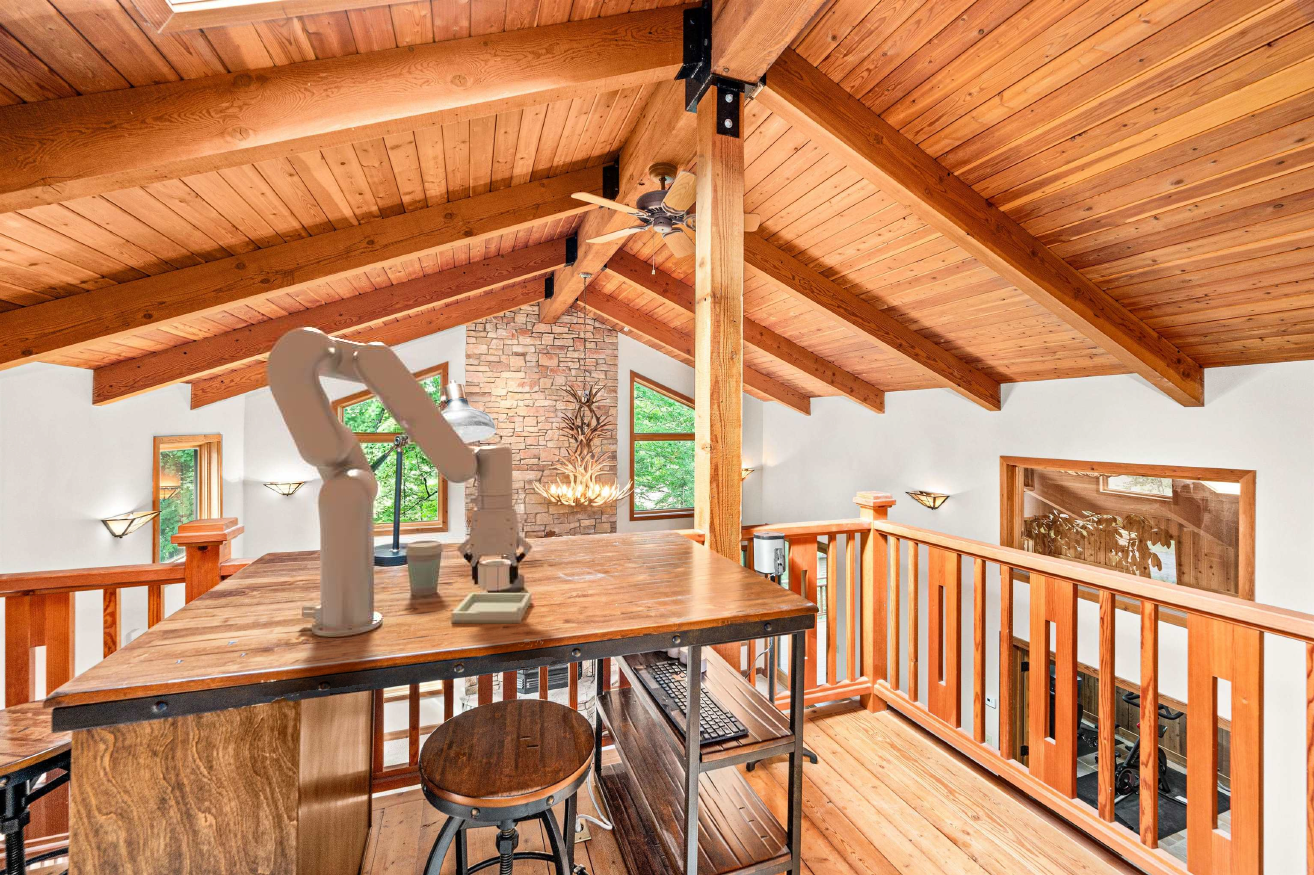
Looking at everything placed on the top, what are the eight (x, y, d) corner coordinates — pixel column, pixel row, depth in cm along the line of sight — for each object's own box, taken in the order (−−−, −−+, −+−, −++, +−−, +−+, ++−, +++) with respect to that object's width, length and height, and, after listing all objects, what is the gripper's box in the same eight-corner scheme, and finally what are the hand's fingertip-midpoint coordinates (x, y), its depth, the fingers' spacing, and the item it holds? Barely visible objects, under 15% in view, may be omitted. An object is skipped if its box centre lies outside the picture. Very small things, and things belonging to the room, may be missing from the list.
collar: (474, 590, 123) (474, 567, 123) (483, 581, 130) (483, 559, 130) (508, 590, 123) (507, 567, 123) (514, 580, 130) (514, 559, 130)
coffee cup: (448, 588, 144) (449, 540, 143) (432, 598, 135) (432, 548, 135) (416, 586, 144) (416, 539, 144) (397, 597, 136) (397, 546, 136)
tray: (451, 622, 119) (451, 612, 119) (470, 601, 133) (470, 592, 133) (519, 623, 120) (519, 613, 120) (531, 601, 134) (531, 592, 134)
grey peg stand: (482, 594, 139) (483, 559, 139) (491, 584, 148) (492, 551, 148) (520, 594, 139) (520, 559, 139) (527, 584, 148) (527, 551, 148)
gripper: (449, 505, 122) (449, 588, 122) (531, 504, 123) (532, 587, 123) (459, 499, 129) (460, 578, 130) (537, 499, 130) (537, 577, 131)
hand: (495, 582), depth 127 cm, fingers closed on collar, 7 cm apart
